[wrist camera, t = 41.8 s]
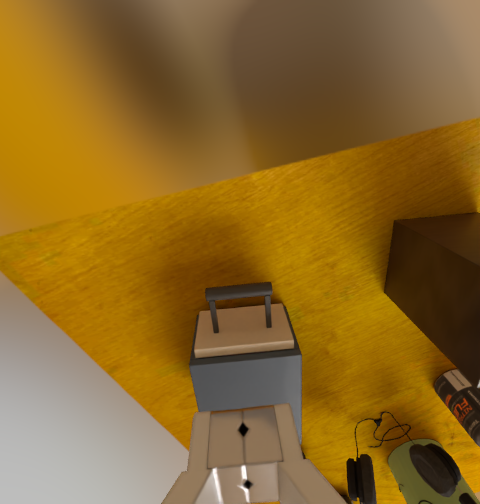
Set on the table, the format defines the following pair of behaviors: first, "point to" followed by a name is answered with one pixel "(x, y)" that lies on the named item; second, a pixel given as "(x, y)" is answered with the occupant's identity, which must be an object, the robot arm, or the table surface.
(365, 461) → the headphones
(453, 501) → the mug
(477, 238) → the stand
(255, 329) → the drawer
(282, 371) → the cabinet
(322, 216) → the table surface
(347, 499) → the toy vehicle
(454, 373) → the pill bottle
